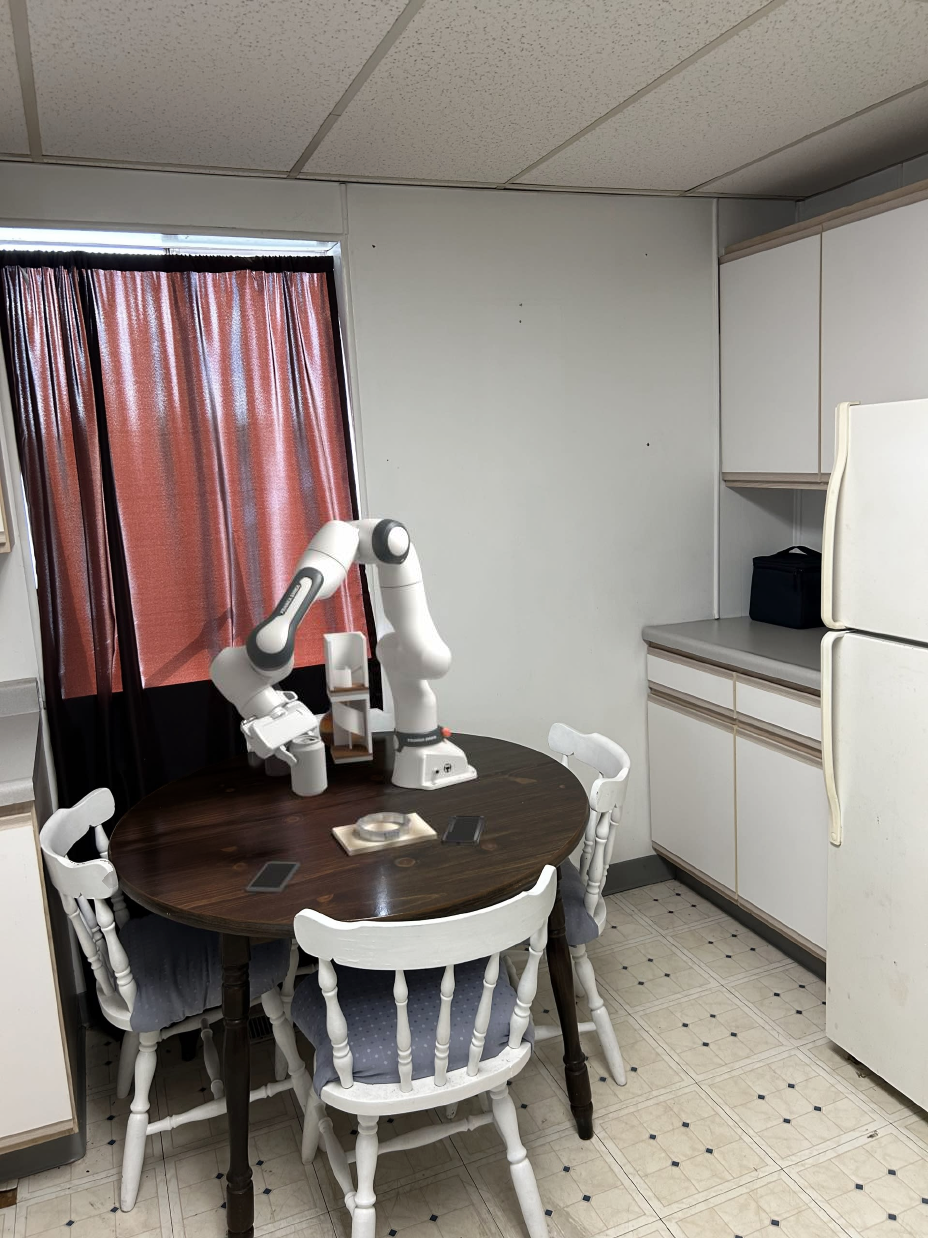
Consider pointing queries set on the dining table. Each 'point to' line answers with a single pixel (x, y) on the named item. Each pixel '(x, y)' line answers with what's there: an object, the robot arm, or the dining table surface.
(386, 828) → the seat board
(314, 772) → the can
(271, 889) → the cell phone
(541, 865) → the dining table surface
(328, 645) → the display case
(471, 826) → the phone
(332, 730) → the vase
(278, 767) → the wine bottle
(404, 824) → the ring collar
